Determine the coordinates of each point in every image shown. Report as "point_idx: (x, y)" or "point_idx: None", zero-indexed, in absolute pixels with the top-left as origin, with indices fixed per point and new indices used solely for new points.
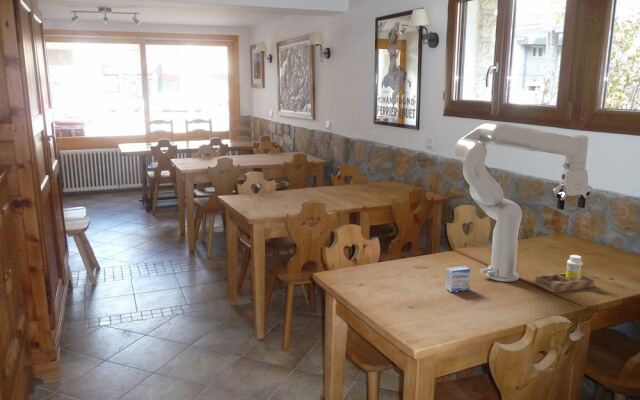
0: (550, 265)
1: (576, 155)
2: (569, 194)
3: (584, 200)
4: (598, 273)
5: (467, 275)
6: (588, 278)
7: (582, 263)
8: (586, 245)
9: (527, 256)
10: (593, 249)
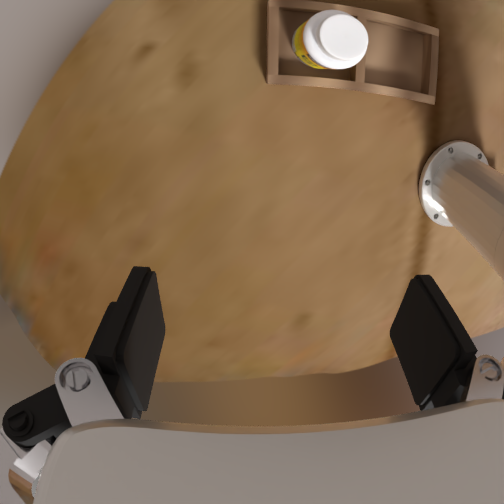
0: (249, 214)
1: None
2: (500, 405)
3: (117, 336)
4: (146, 104)
5: None
6: (278, 14)
7: (322, 11)
8: (49, 314)
9: (258, 297)
10: (44, 288)
